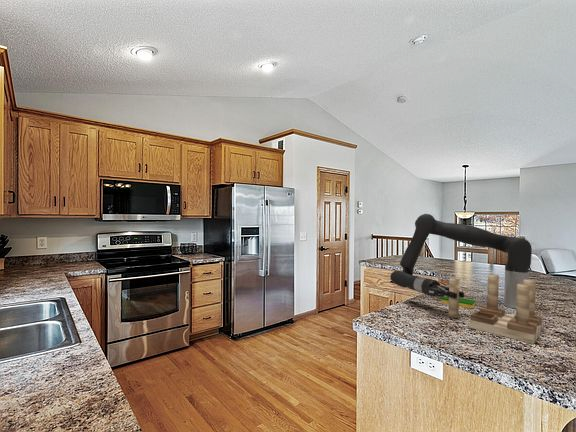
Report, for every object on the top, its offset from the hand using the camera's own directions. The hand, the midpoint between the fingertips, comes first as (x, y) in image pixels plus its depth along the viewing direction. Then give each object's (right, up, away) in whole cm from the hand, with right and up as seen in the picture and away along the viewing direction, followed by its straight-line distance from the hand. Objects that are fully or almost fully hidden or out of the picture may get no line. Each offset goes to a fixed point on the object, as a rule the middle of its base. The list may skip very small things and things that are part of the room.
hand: (459, 295), depth 132 cm
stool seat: (+13, -10, -9) cm, 19 cm away
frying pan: (+16, -10, +45) cm, 49 cm away
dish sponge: (+12, -10, +24) cm, 29 cm away
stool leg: (-1, -10, +3) cm, 10 cm away
